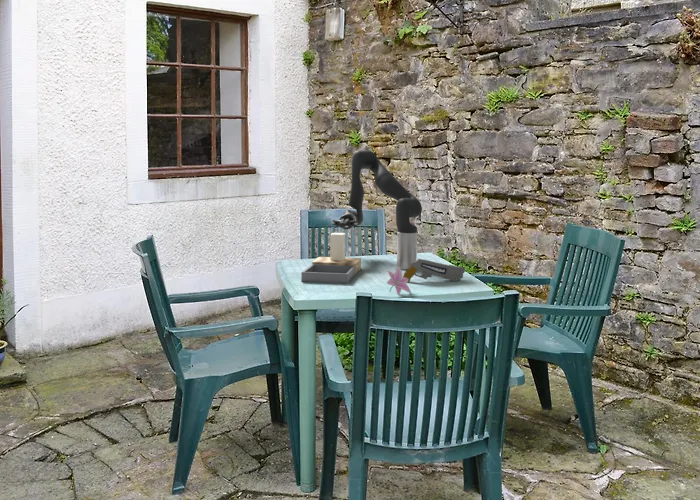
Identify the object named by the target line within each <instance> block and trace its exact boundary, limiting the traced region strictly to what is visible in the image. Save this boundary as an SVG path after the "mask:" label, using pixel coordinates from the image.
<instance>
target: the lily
mask: <svg viewBox="0 0 700 500" xmlns="http://www.w3.org/2000/svg"><path fill="white" fill-rule="evenodd" d="M386 272H387V273H388V275H389V277H390V278H389V279H388V280H387V282H386V284H387V285H389V286H391V288H390V289H389V291H392V289H393V287H394V288H395V290H396V291H395V292H396V293H397V296H399V295H400V294H401V292H402V290H403V291H405V292H406V293H409V294H411V293H412V291H411V289H410V287H409V285H408V284H407V283H409V282H408V280H409V279H407V278H405V277H403V272H402V269H400V267H399V266H398V267H397V266H396V269H395V271H394V272H393V271H390V270H388V269H386Z"/></svg>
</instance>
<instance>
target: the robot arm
mask: <svg viewBox="0 0 700 500" xmlns="http://www.w3.org/2000/svg"><path fill="white" fill-rule="evenodd" d="M351 158H352V159H351V182H350V185H351V186H350V193H349V198H348V199H349V200H348V206H349V207H351V208H352V209H353V210H351V209H346V210H344V212H343V214H342V215H341V216H340V217H339V219H337V220H336V219H332V226H335V227H340V228H342V230H346V231H347V230H348V231H349V230H351V229H352V228H353V227H358V226H361V225H362V223H363V222H364V214H363V213H364V212H363V202H364V196H365V189H364V186H363V183H362V180H361V172H362V170H370V171H371V172H372V173H373V174H374V183H375V185H376V187H377V188H378V189H379V190H380V191H381V192H382V193H383V194H384V195H386V196H387V197H389V198H391V199H393V200H396V201H397V202H396V205H395V224H396V228H397V237H396V240H397V242H396V246H397V247H396V268H397V267H398V266H399V267H400V269H401V270H406V271H407V270H408V269H409V268H410V267H411V264H412V263H413V262H415V261H416V260H417V259H418V226H417V225H415V224H412V223H411V219H410V218H417V217H419V216H420V215H421V214H422V213H423V207H422V203H421V202H420V199H418V198H417V197H416V196H414V194H412V193H411V192H409V190H407V189H406V188H405V187H404V186H403V184H401V183H400V182H399V181H398V179H397V178H396V177H395V176H394V175H393V174H392V173H391V172H390V171H389V170H388V169H387V168H386V167H385V165H384V164H383V163H382V162H381V160H380V159H379V157H378V156H377V155H376V153H374V151H371V150H356V151H354V153H353V154H352V157H351ZM355 210H356V211H355Z"/></svg>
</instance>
